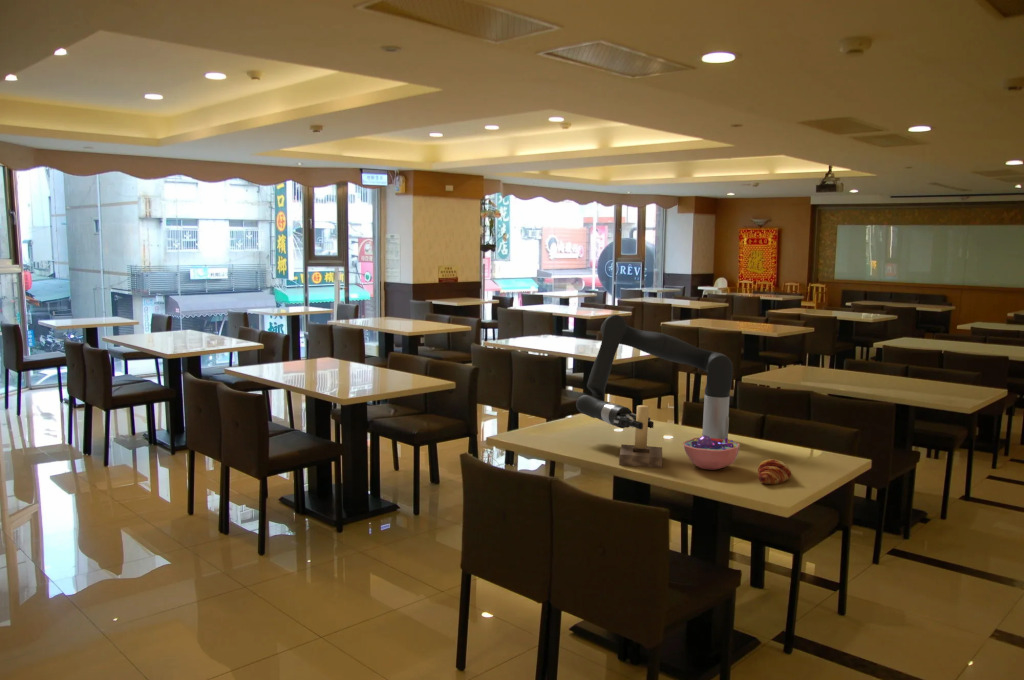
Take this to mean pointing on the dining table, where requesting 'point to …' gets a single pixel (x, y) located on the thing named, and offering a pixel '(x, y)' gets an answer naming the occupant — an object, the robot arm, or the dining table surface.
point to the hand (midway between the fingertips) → (647, 425)
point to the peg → (642, 433)
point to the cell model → (711, 452)
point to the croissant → (773, 472)
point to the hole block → (640, 456)
